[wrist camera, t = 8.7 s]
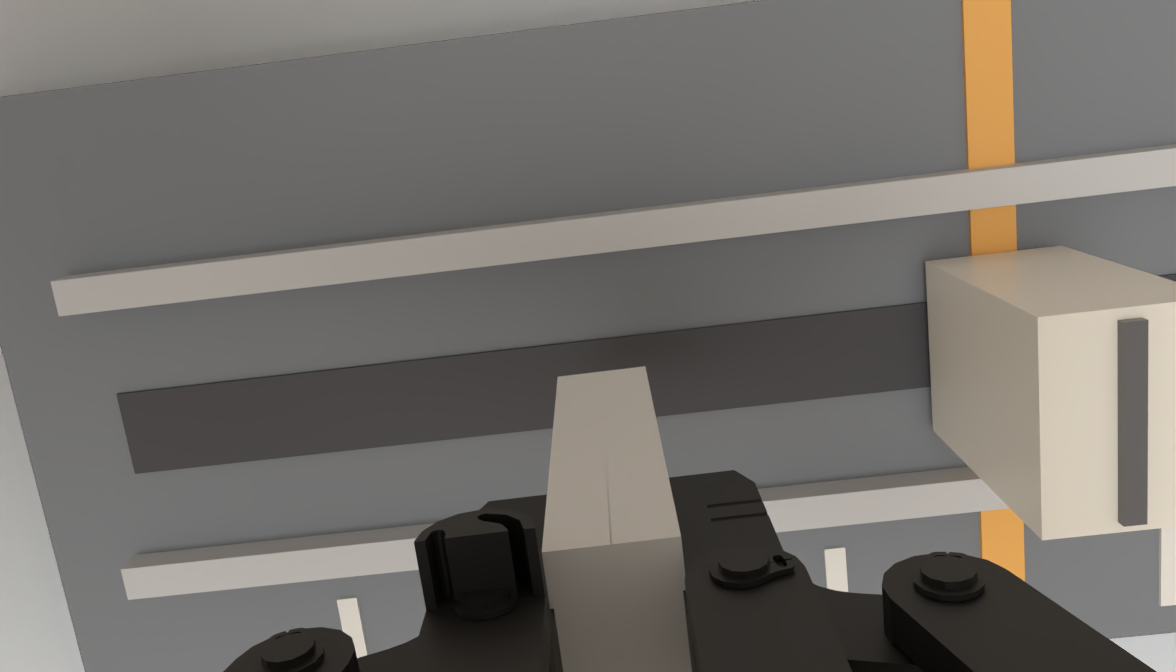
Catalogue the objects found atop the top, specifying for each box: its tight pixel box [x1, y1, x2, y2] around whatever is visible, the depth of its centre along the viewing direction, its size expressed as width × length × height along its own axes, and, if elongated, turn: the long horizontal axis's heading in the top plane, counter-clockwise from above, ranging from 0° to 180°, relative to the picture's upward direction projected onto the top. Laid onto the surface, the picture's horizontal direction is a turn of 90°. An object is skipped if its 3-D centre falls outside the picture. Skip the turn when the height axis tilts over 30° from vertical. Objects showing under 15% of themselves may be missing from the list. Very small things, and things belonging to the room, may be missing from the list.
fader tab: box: [925, 246, 1176, 540], centre depth 20 cm, size 4×3×6 cm
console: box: [0, 0, 1176, 672], centre depth 24 cm, size 16×30×3 cm, turn 97°
